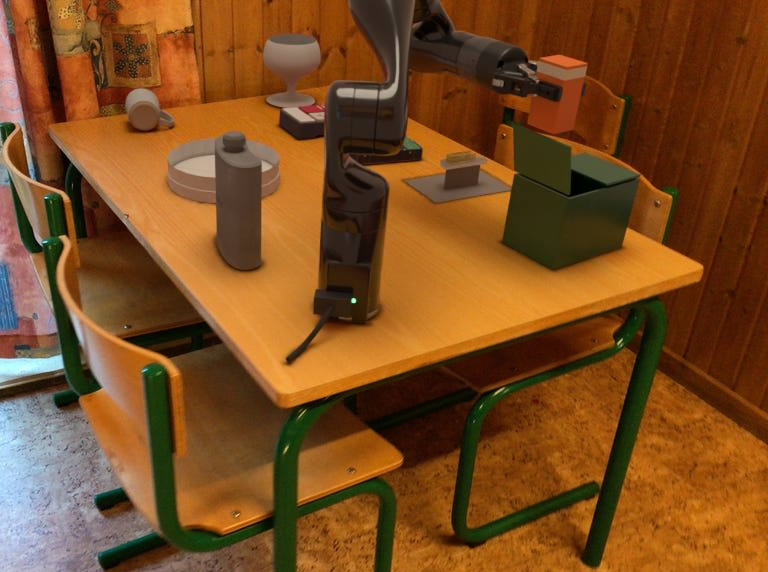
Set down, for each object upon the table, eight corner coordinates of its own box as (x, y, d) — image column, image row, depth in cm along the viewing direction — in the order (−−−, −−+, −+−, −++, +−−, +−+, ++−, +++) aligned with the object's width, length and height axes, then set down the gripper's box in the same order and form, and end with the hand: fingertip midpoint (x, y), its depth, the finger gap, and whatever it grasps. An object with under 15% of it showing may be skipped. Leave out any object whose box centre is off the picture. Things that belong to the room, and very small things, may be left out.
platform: (403, 180, 169) (407, 148, 165) (478, 168, 175) (483, 137, 172) (435, 202, 160) (440, 169, 156) (513, 189, 166) (519, 157, 163)
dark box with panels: (359, 116, 190) (299, 120, 185) (357, 135, 193) (298, 139, 187) (337, 102, 199) (279, 105, 193) (335, 120, 201) (278, 124, 195)
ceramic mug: (129, 133, 188) (126, 98, 184) (126, 121, 195) (124, 88, 190) (176, 131, 190) (175, 97, 186) (172, 120, 197) (171, 87, 193)
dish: (256, 211, 155) (256, 185, 152) (147, 193, 160) (145, 168, 158) (294, 169, 172) (295, 145, 170) (195, 154, 178) (194, 131, 175)
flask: (210, 233, 147) (207, 119, 135) (243, 230, 148) (242, 117, 137) (228, 273, 135) (226, 151, 123) (264, 269, 136) (265, 149, 125)
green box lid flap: (570, 194, 131) (568, 195, 131) (515, 169, 139) (513, 170, 139) (571, 146, 125) (569, 147, 125) (514, 123, 134) (512, 124, 134)
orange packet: (553, 134, 127) (567, 66, 122) (526, 123, 131) (538, 57, 126) (573, 129, 129) (588, 63, 124) (546, 119, 133) (559, 54, 128)
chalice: (329, 105, 209) (332, 42, 200) (281, 113, 202) (282, 49, 194) (299, 90, 218) (301, 30, 210) (252, 98, 212) (252, 36, 204)
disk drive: (357, 167, 175) (422, 160, 178) (357, 154, 173) (424, 147, 177) (340, 149, 183) (403, 143, 187) (340, 137, 181) (404, 131, 185)
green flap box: (553, 270, 138) (570, 194, 131) (501, 242, 146) (514, 169, 139) (621, 247, 146) (641, 174, 138) (569, 222, 154) (585, 152, 147)
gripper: (461, 45, 132) (543, 73, 120) (527, 35, 138) (610, 60, 126) (455, 93, 136) (533, 125, 124) (518, 82, 142) (599, 110, 130)
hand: (571, 92), depth 125 cm, fingers closed on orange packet, 4 cm apart
